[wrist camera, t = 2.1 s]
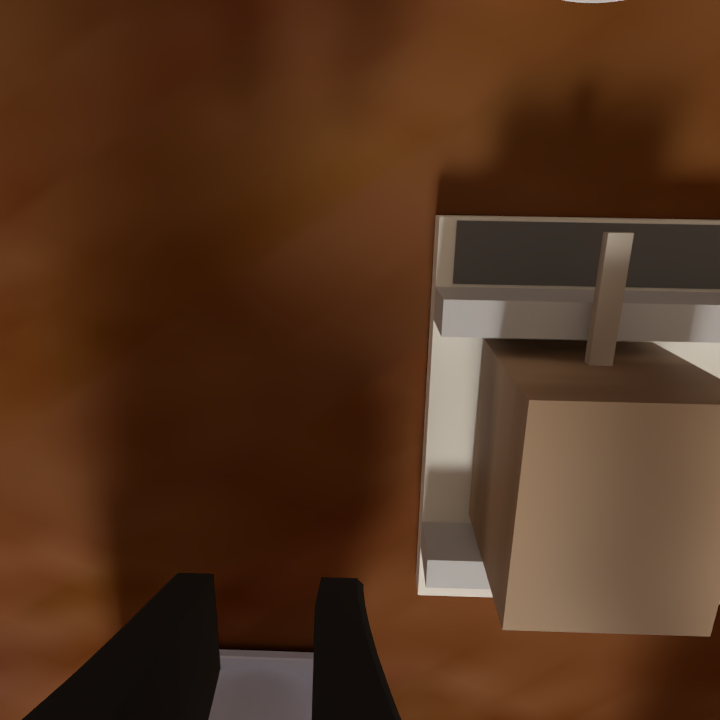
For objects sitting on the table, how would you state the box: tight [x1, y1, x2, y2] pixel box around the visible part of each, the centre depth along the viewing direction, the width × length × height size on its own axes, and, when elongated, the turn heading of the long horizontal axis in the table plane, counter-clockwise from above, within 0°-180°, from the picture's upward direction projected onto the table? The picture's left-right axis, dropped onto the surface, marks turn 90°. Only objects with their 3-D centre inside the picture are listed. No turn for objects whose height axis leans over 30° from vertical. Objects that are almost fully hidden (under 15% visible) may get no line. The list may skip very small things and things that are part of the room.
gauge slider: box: [469, 232, 720, 637], centre depth 14 cm, size 5×9×5 cm, turn 179°
